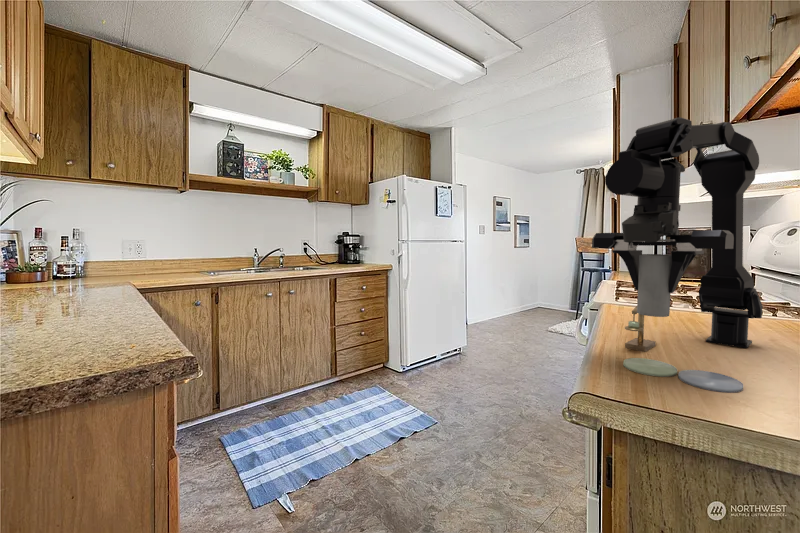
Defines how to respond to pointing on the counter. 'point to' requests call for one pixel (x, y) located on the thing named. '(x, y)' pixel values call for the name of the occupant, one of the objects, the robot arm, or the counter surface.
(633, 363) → the dish green
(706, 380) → the dish grey
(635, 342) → the balance
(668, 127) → the robot arm
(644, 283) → the planter
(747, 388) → the counter surface
